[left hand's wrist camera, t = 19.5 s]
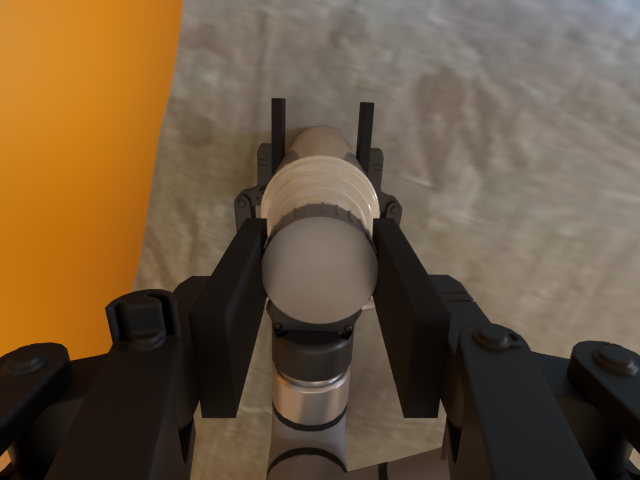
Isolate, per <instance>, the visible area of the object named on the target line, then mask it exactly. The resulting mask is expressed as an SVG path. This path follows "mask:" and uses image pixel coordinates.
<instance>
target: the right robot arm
mask: <svg viewBox="0 0 640 480" xmlns="http://www.w3.org/2000/svg"><path fill="white" fill-rule="evenodd" d="M373 113H374V103H369V102H360V111H359V125H358V138H357V151H356V158H357V160H358V162H359V164H360V165H361V167H362V169H363V170H364V172H365V174H366V175H367V177H368V179H369V181H370V182H371V184H372V186H373V188H374V190H375V192H376V195H377V198H378V203H379V210H380V211H381V214H380V218H394V219H395V221H396V223H397V224H398V226H399V225H400V220H401V214H402V206H401V205H400V203H399V202H398V201H397V199H396V198H395V197H394V196H392V195H387V194H385V193H383V192H381V179H382V170H383V160H384V157H383V153H382V151H381V150H380V149H379V148H371V136H372V125H373ZM257 155H258V185H257V186H256V187H253V188H250V189H244V190H243V191H241V193H240V194H239V195H238V196H237V198H236V199H235V201H234V206H235V217H236V227H237V232H238V230H239V229H240V227H241V225H242V224H243V222H244V220H245V219H246V218H256V210H255V206H256V205H260V208H261V201H262V197H263V194H264V192H265V189H266V187H267V185H268V184H269V182H270V180H271V178H272V177H273V175H274V173H275V172H276V170H277V168H278V167H279V165H280V163H281V162H282V160H283V158H284V157H285V99H283V98H272V144H271V143H262V144H261V145H260V147H259V149H258V152H257ZM265 307H266V310H267V313H268V314H269V316H270V318H271V320H272V359H273V363H272V405H273V412H272V437H271V446H270V453H269V460H268V467H267V476H266V477H267V479H266V480H450V474H449V466H448V458H447V456H446V460H441V451H442V447H441V448H437V449H433V450H430V451H426V452H423V453H419V454H416V455H412V456H409V457H405V458H402V459H398V460H395V461H391V462H385V463H381V464H377V465H373V466H369V467H365V468H361V469H357V470H353V471H349V472H347V465H346V451H345V426H346V408H347V401H348V394H349V382H350V368H351V366H350V363H351V358H352V347H353V335H354V325H355V322H356V320H357V319H358V318H359V316H360V315H361V311H366V310H370V309H375V304H374V301H373V297H372V296H371V298H370V299H369V301H368V302H367V303H366V304H365V305H364V306H363V307H362V308H361V309H360V310H359V311H358V312H356V313H355V314H353V315H352V316H350V317H348V318H346V319H343V320H341V321H337V322H334V323H327V324H312V323H306V322H302V321H299V320H296V319H294V318H292V317H290V316H288V315H286V314H285V313H283V312H282V311H281V310H279V309H278V308H277V307H276V306H275V305H274V304H273V302H272V301H271V300H270V299H269V297H268V296H267V300H266V303H265Z"/></svg>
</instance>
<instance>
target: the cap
mask: <svg viewBox="0 0 640 480" xmlns="http://www.w3.org/2000/svg"><path fill="white" fill-rule="evenodd" d="M263 250H264V253H263V256H262V261H261V263H262V281H263V287H264V289H265V292H266V294H267V295H268V297H269V299H270V300H271V301H272V302H273V304H274V305H275V306H276V307H277V308H278V309H279V310H281V311H282V312H283V313H285V314H286V315H288V316H290V317H292V318H294V319H296V320H299V321H302V322H306V323H312V324H327V323H334V322H337V321H341V320H343V319H346V318H348V317H350V316H352V315H353V314H355V313H356V312H358V311H359V310H360V309H361V308H362V307H363V306H364V305H365V304H366V303H367V302H368V301H369V299H370V298H371V296H372V295H373V293H374V291H375V288H376V285H377V276H378V258H377V252H376V249H375V246H374V244H373V239H372V237H371V234H370V231H369V229H366V227H365V226H364V225H363V223H362V220H361V219H358V218H357V217H356V216H355V215H353V214H352V213H351V211H350V210H348V211H347V210H345V209H343V208H341V207H338V205H337V204H336V205H330V204H324V202H321V203H320V204H309V203H307V205H305V206H301V207H299V208H296V207H295V208H293V210H292V211H291V212H289V213H287V214H286V215H285V216H284V215H282V217H281V219H280V221H279V222H278V223H277V224H276V225H273V227H272V230H271V233H270V236H269V237H267V239H266V242H265V245H264V247H263Z"/></svg>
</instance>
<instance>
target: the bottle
mask: <svg viewBox="0 0 640 480" xmlns="http://www.w3.org/2000/svg"><path fill="white" fill-rule="evenodd" d="M321 202H324V204H330V205H336V204H337V205H338V207H341V208H343V209H345V210H347V211H348V210H350V211H351V213H352V214H353V215H355V216H356V217H357V218H358V219H361V220H362V223H363V225H364V226H365V227H366V229H369V231H370V234H371V237H372V227H373V218H379V203H378V198H377V195H376V192H375V190H374V188H373V186H372V184H371V182H370V181H369V179H368V177H367V175H366V174H365V172H364V170H363V169H362V167H361V165H360V164H359V162H358V160H357V158H356V157H355V155H354V153H353V152H352V150H351V148H350V147H349V145H348V143H347V141H346V140H345V139H344V137H343V136H342V135H341V134H340V133H338V132H337V131H335V130H334V129H331V128H328V127H323V126H317V127H312V128H309V129H306V130H305V131H303V132H302V133H300V134H299V135H298V136H297V137H296V138H295V140H294V141H293V143H292V145H291V146H290V148H289V150H288V151H287V153H286V155H285V157H284V158H283V160H282V162H281V163H280V165H279V167H278V168H277V170H276V172H275V173H274V175H273V177H272V178H271V180H270V182H269V184H268V185H267V187H266V189H265V192H264V194H263V197H262V201H261V208H260V217H261V218H267V232H268V237H269V236H270V233H271V230H272V227H273V225H276V224H277V223H278V222H279V221H280V219H281V217H282V215H284V216H285V215H286V214H287V213H289V212H291V211H292V210H293V208H295V207H296V208H299V207H301V206H305V205H307V203H309V204H320V203H321Z"/></svg>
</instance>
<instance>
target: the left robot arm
mask: <svg viewBox="0 0 640 480" xmlns="http://www.w3.org/2000/svg"><path fill="white" fill-rule="evenodd" d="M267 237H268V232H267V218H246V219H245V220H244V222H243V224H242V225H241V227H240V229H239V230H238V232H237V234H236V235H235V237H234V239H233V240H232V242H231V244H230V245H229V247H228V248H227V250H226V252H225V253H224V255H223V257H222V258H221V260H220V262H219V263H218V265H217V267H216V268H215V270H214V272H213V273H212V275H211V276H192V277H190V278H188V279H187V280H185V281H183V282H182V283H180V284H179V285H178V286H177V288H176V289H175V290H174V292H173V293H171V292H170V291H166V290H162V289H147V290H141V291H135V292H132V293H129V294H126V295H123V296H121V297H119V298H117V299H115V300H113V301H112V302H111V303H110V304H109V305H107V306H106V307H105V310H106V314H107V319H108V323H109V328H110V333H111V337H112V342H113V345H112V347H111V349H110V351H109V353H106V354H102V355H99V356H94V357H88V358H83V359H77V360H72V361H70V358H69V354H68V351H67V348H65V347H64V346H63V345H62V344H57V343H51V342H50V343H36V344H31V345H30V346H28V345H27V346H23V347H20V348H18V349H17V350H14V351H12V352H10V353H7V354H5V355H4V356H2V357H0V456H1V455H2V454H3V453H4V452H5V451H6V450H7V451H8V453H9V456H10V459H11V462H10V463H9V464H8V465H7V466H6V467H5V469H3V470H2V471H1V472H0V480H190V474H191V467H192V459H193V451H194V443H195V435H196V431H195V424H194V417H193V415H194V413H195V410H196V408H197V405H198V402H199V400H200V405H201V412H202V418H236V414H237V410H238V407H239V403H240V399H241V395H242V391H243V388H244V384H245V380H246V376H247V372H248V368H249V365H250V361H251V357H252V353H253V349H254V346H255V342H256V338H257V334H258V330H259V326H260V323H261V319H262V315H263V311H264V307H265V303H266V300H267V296H268V295H267V294H266V292H265V289H264V287H263V281H262V263H261V261H262V256H263V253H264V250H263V247H264V245H265V242H266V239H267ZM372 239H373V244H374V246H375V249H376V252H377V258H378V276H377V285H376V288H375V291H374V293H373V295H372V297H373V301H374V304H375V308H376V312H377V316H378V320H379V324H380V327H381V331H382V335H383V339H384V343H385V347H386V350H387V354H388V358H389V362H390V366H391V369H392V373H393V377H394V381H395V385H396V389H397V392H398V396H399V400H400V404H401V408H402V412H403V415H404V418H438V410H439V403H440V399H441V401H442V404H443V406H444V409H445V411H446V414H447V417H446V424H445V431H444V438H443V445H442V451H441V460H446V456H447V458H448V466H449V474H450V480H640V470H639V469H638V468H637V467H635V465H634V464H633V463H632V462H631V461H630V460H629V458H630V455H631V452H632V450H633V447H634V448H635V449H636V450H637V452H638V453H639V454H640V355H638V354H637V353H635V352H633V351H630V350H628V349H626V348H623V347H622V346H620V345H617V344H613V343H612V344H610V343H609V342H604V341H584V342H579V343H577V344H576V345H575V346H574V347H573V349H572V353H571V357H570V359H567V358H561V357H556V356H551V355H546V354H541V353H536V352H532V351H531V350H530V348H529V346H528V344H527V343H526V341H525V340H524V339H523V338H522V337H521V336H520V335H519V334H517V333H516V332H514V331H513V330H511V329H508V328H506V327H503V326H501V325H498V324H492V323H491V322H490V321H489V320H488V318H487V317H486V316H485V314H484V313H483V312H482V310H481V309H480V308H479V306H478V305H477V304H476V302H474V300H473V298H472V297H471V296H470V294H468V292H467V290H466V289H465V288H464V286H463V285H462V284H461V283H460V282H459V281H457V280H455V279H454V278H452V277H450V276H449V275H428V274H427V272H426V270H425V269H424V267H423V265H422V264H421V262H420V260H419V259H418V257H417V256H416V254H415V252H414V251H413V249H412V247H411V246H410V244H409V242H408V241H407V239H406V237H405V236H404V234H403V232H402V231H401V229H400V227H399V226H398V224H397V223H396V221H395V219H394V218H373V227H372Z"/></svg>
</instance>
